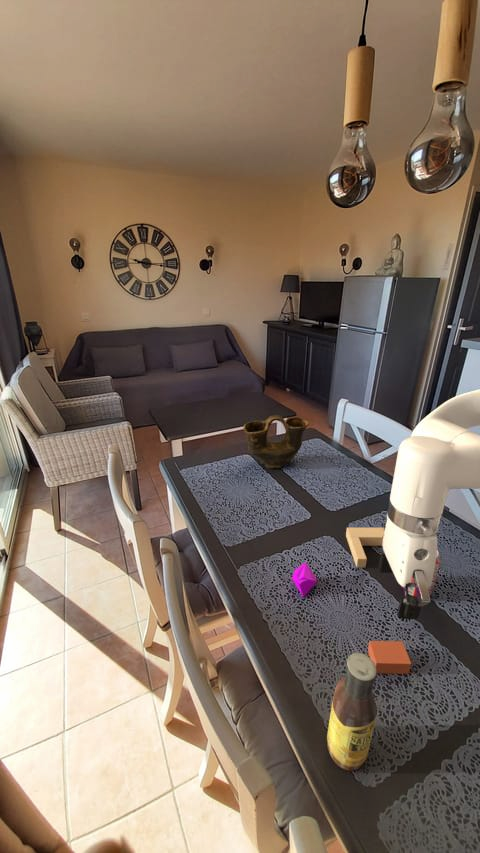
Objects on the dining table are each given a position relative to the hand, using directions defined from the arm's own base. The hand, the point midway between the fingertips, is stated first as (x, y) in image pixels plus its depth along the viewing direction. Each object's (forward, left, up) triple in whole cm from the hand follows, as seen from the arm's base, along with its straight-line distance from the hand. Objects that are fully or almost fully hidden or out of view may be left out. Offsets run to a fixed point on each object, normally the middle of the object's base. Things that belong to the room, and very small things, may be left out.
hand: (396, 592), depth 63 cm
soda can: (-13, -17, -18) cm, 28 cm away
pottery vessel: (+17, -77, -18) cm, 81 cm away
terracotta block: (-1, +1, -18) cm, 18 cm away
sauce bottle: (+10, +15, -18) cm, 25 cm away
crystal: (+13, -17, -18) cm, 28 cm away
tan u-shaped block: (-7, -29, -18) cm, 35 cm away
